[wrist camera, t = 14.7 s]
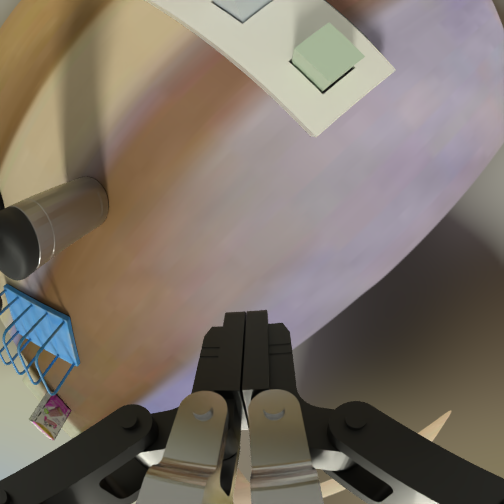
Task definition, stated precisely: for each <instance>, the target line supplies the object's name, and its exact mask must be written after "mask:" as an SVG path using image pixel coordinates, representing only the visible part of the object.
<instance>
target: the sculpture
mask: <svg viewBox="0 0 504 504" xmlns="http://www.w3.org/2000/svg"><path fill="white" fill-rule="evenodd" d="M3 209H4V204H3V200H2V197H1V194H0V211H1V210H3Z"/></svg>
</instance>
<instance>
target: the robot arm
mask: <svg viewBox="0 0 504 504" xmlns="http://www.w3.org/2000/svg"><path fill="white" fill-rule="evenodd" d="M107 214H108V198H107V195H106V192H105V190H104V188H103V187H102V185H101V184H100V183H99V182H98V181H97V180H95V179H93V178H91V177H81V178H78V179H76V180H73V181H70V182H67V183H64V184H62V185H59V186H56V187H54V188H51V189H49V190H46V191H43V192H41V193H39V194H36V195H34V196H31V197H29V198H27V199H24V200H22V201H20V202H18V203H16V204H13V205H11V206H9V207H7V208H5V209H3V210H1V211H0V271H1V272H2V273H4V274H5V275H6V276H7V277H9V278H11V279H13V280H22V279H25V278H26V277H28V276H29V275H30V274H32V273H33V272H34V271H35V270H37V269H38V268H39V267H41V266H42V265H43V264H45V263H46V262H47V261H49V260H50V259H51V258H53V257H54V256H56V255H57V254H58V253H60V252H61V251H63V250H64V249H65V248H67V247H68V246H70V245H71V244H73V243H74V242H76V241H77V240H78V239H80V238H81V237H83V236H84V235H86V234H88V233H89V232H91V231H92V230H94V229H95V228H97V227H98V226H100V225H101V224H102V223H103V222H104V221H105V219H106V217H107ZM1 309H2V299H1V296H0V312H1ZM241 430H249V436H250V453H251V469H252V473H251V479H250V487H251V503H252V504H324V502H323V497H322V492H321V487H320V483H319V478H318V475H317V472H316V469H315V468H317V469H322V470H323V471H324V472H325V473H326V474H328V475H329V476H330V477H332V478H333V479H334V480H335V481H337V482H338V483H339V484H341V485H342V486H343V487H345V488H346V489H348V490H349V491H350V492H352V493H353V494H354V495H356V496H357V497H359V498H360V499H362V500H363V501H365V502H366V503H368V504H504V479H503V478H501V477H499V476H497V475H495V474H493V473H491V472H488V471H486V470H484V469H482V468H480V467H478V466H476V465H474V464H472V463H470V462H468V461H466V460H464V459H462V458H461V457H458V456H457V455H455V454H453V453H451V452H449V451H447V450H446V449H444V448H442V447H440V446H438V445H436V444H435V443H433V442H431V441H429V440H428V439H426V438H424V437H423V436H421V435H419V434H417V433H416V432H414V431H412V430H410V429H408V428H407V427H405V426H404V425H402V424H400V423H399V422H397V421H395V420H394V419H392V418H391V417H389V416H387V415H386V414H384V413H382V412H381V411H379V410H378V409H376V408H375V407H373V406H371V405H370V404H368V403H365V402H360V401H353V402H347V403H344V404H342V405H340V406H339V407H337V408H336V409H335V410H334V409H327V408H319V407H315V406H312V405H310V404H308V403H306V402H305V401H304V400H303V399H302V398H301V397H300V396H299V394H298V392H297V388H296V380H295V371H294V363H293V354H292V346H291V338H290V332H289V330H288V329H287V328H286V327H285V325H284V324H283V323H275V324H268V314H267V310H261V311H247V314H246V312H228V313H225V318H224V324H223V327H212V328H211V329H210V330H209V331H208V333H207V334H206V335H205V336H204V340H203V344H202V349H201V353H200V358H199V362H198V366H197V371H196V375H195V380H194V385H193V389H192V393H191V394H190V395H188V396H187V397H186V398H185V399H184V400H183V401H182V402H181V404H180V406H179V407H177V408H175V409H172V410H169V411H163V412H158V413H152V414H150V412H149V411H148V410H147V409H146V408H144V407H142V406H140V405H134V404H131V405H126V406H123V407H121V408H119V409H117V410H116V411H114V412H113V413H111V414H110V415H108V416H107V417H105V418H104V419H102V420H101V421H99V422H98V423H96V424H95V425H93V426H92V427H90V428H89V429H87V430H86V431H84V432H82V433H81V434H79V435H78V436H76V437H75V438H73V439H71V440H70V441H68V442H67V443H65V444H63V445H62V446H60V447H59V448H57V449H55V450H54V451H52V452H50V453H49V454H47V455H45V456H43V457H42V458H40V459H38V460H37V461H35V462H33V463H32V464H30V465H28V466H26V467H25V468H23V469H21V470H19V471H17V472H16V473H14V474H12V475H10V476H8V477H7V478H5V479H3V480H1V481H0V504H131V503H133V502H135V501H136V500H137V502H136V504H234V503H233V495H234V488H235V482H236V475H237V469H238V462H239V455H240V437H241Z"/></svg>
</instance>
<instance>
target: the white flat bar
mask: <svg viewBox="0 0 504 504" xmlns="http://www.w3.org/2000/svg"><path fill="white" fill-rule="evenodd" d="M144 1H146V2H148V3H149V4H151V5H152V6H154V7H156V8H157V9H159V10H160V11H162V12H164V13H165V14H167V15H168V16H170V17H171V18H173V19H174V20H176V21H177V22H179V23H180V24H182V25H183V26H184V27H186V28H187V29H189V30H190V31H192V32H193V33H194V34H196V35H197V36H198V37H200V38H201V39H202V40H204V41H205V42H206V43H208V44H209V45H210V46H212V47H213V48H214V49H216V50H217V51H218V52H219V53H221V54H222V55H223V56H224V57H226V58H227V59H228V60H229V61H231V62H232V63H233V64H234V65H235V66H237V67H238V68H239V69H240V70H241V71H242V72H244V73H245V74H246V75H247V76H248V77H249V78H251V79H252V80H253V81H254V82H255V83H256V84H257V85H258V86H259V87H261V88H262V89H263V90H264V91H265V92H266V93H267V94H268V95H269V96H270V97H271V98H273V99H274V100H275V101H276V102H277V103H278V104H279V105H280V106H281V107H282V108H283V109H284V110H285V111H286V112H287V113H288V114H289V115H290V116H291V117H292V118H293V119H294V120H295V121H296V122H297V123H298V124H299V125H300V126H301V127H302V128H303V129H304V130H305V131H306V132H307V133H308V134H309V135H310V137H317V136H318V135H319V134H321V133H322V132H323V131H324V130H325V129H326V128H327V127H329V126H330V125H331V124H332V123H333V122H334V121H335V120H337V119H338V118H339V117H340V116H341V115H342V114H344V113H345V112H346V111H347V110H348V109H349V108H351V107H352V106H353V105H354V104H355V103H356V102H358V101H359V100H360V99H361V98H362V97H364V96H365V95H366V94H367V93H368V92H370V91H371V90H372V89H373V88H374V87H376V86H377V85H378V84H379V83H381V82H382V81H383V80H384V79H386V78H387V77H388V76H389V75H390V74H392V73H393V72H394V71H395V69H394V67H393V66H392V65H391V64H390V63H389V62H388V61H387V60H386V58H385V57H384V56H383V55H382V54H381V53H380V52H379V51H378V50H377V49H376V48H375V47H374V46H373V45H372V43H371V42H370V41H369V40H368V38H367V37H366V36H365V35H364V34H363V33H362V32H361V31H360V30H359V29H358V28H356V27H355V26H354V25H353V24H352V23H351V22H350V21H349V20H348V19H347V18H346V17H344V16H343V15H342V14H341V13H340V12H339V11H337V10H336V9H335V8H334V7H333V6H331V5H330V4H329V3H328V2H327V1H325V0H273V1H272V2H270V3H269V4H268V5H266V6H265V7H264V8H262V9H261V10H260V11H258V12H257V13H256V14H254V15H253V16H252V17H251V18H249V19H248V20H247V21H246V22H244V23H241V22H240V21H239V20H237V19H236V18H234V17H233V16H232V15H230V14H229V13H227V12H226V11H224V10H223V9H221V8H220V7H218V6H217V5H215V3H214V1H213V0H144ZM327 23H330V24H332V25H333V26H334V27H335V28H336V29H337V30H338V31H339V32H340V33H342V34H343V35H344V36H345V37H346V38H347V39H348V40H349V41H350V42H351V43H352V44H353V45H354V46H355V47H356V48H357V49H358V50H359V51H360V52H361V53H362V54H363V55H364V56H365V57H364V58H363V59H361V60H360V61H359V62H358V63H357V64H355V65H354V66H353V67H352V68H351V69H349V70H348V71H347V72H346V73H345V74H344V75H342V76H341V77H340V78H339V79H337V80H336V81H335V82H334V83H332V84H331V85H330V86H329V87H328V88H326V89H325V90H324V91H323V92H322V93H321V92H320V91H319V90H318V89H317V88H316V87H315V86H314V85H313V84H312V83H311V82H310V81H309V80H308V79H307V78H306V77H305V76H304V75H303V74H302V73H301V72H299V71H298V70H297V69H296V68H295V67H294V66H293V65H292V64H291V63H292V58H293V52H294V48H296V47H297V46H298V45H299V44H301V43H302V42H303V41H305V40H306V39H307V38H308V37H310V36H311V35H312V34H314V33H315V32H316V31H318V30H319V29H320V28H322V27H323V26H325V25H326V24H327Z"/></svg>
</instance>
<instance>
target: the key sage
mask: <svg viewBox="0 0 504 504" xmlns="http://www.w3.org/2000/svg"><path fill="white" fill-rule="evenodd" d="M364 57H365V56H364V55H363V54H362V53H361V52H360V51H359V50H358V49H357V48H356V47H355V46H354V45H353V44H352V43H351V42H350V41H349V40H348V39H347V38H346V37H345V36H344V35H343V34H342V33H340V32H339V31H338V30H337V29H336V28H335V27H334V26H333V25H332V24H330V23H327V24H326V25H325V26H323V27H322V28H320V29H319V30H318V31H316V32H315V33H314V34H312V35H311V36H310V37H308V38H307V39H306V40H305V41H303V42H302V43H301V44H299V45H298V46H297V47H296V48H294V52H293V58H292V63H291V64H292V65H293V66H294V67H295V68H296V69H297V70H298V71H299V72H301V73H302V74H303V75H304V76H305V77H306V78H307V79H308V80H309V81H310V82H311V83H312V84H313V85H314V86H315V87H316V88H317V89H318V90H319V91H320V92H321V93H322V92H323V91H324V90H325V89H326V88H328V87H329V86H330V85H331V84H332V83H334V82H335V81H336V80H337V79H339V78H340V77H341V76H342V75H344V74H345V73H346V72H347V71H348V70H349V69H351V68H352V67H353V66H354V65H355V64H357V63H358V62H359V61H360V60H361V59H363V58H364Z"/></svg>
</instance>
